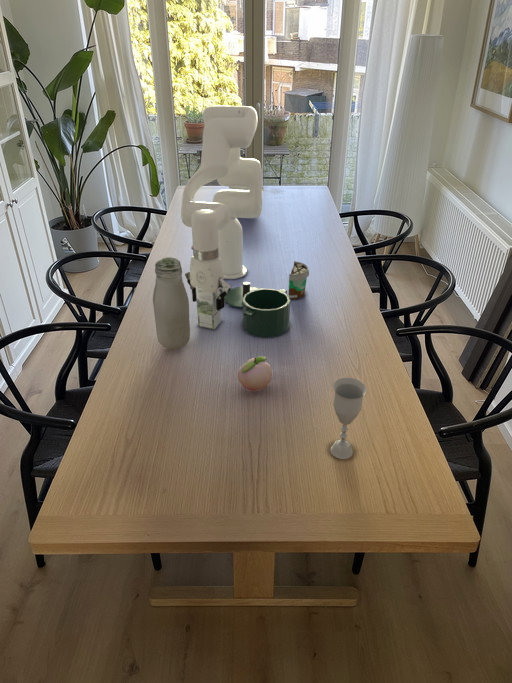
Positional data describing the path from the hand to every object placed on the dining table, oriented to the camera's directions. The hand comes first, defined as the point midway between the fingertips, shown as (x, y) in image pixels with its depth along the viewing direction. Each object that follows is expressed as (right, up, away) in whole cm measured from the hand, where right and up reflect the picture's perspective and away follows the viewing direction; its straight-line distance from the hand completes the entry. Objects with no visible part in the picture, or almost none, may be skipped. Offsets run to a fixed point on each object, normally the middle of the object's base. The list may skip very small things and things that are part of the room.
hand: (208, 304), depth 161 cm
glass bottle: (-9, -13, -7) cm, 17 cm away
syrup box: (0, -6, +4) cm, 8 cm away
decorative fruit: (+15, -25, -25) cm, 38 cm away
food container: (+30, +5, +22) cm, 38 cm away
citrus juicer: (+10, +52, +97) cm, 111 cm away
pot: (+18, -7, +4) cm, 20 cm away
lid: (+12, +4, +19) cm, 22 cm away
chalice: (+34, -37, -44) cm, 67 cm away
